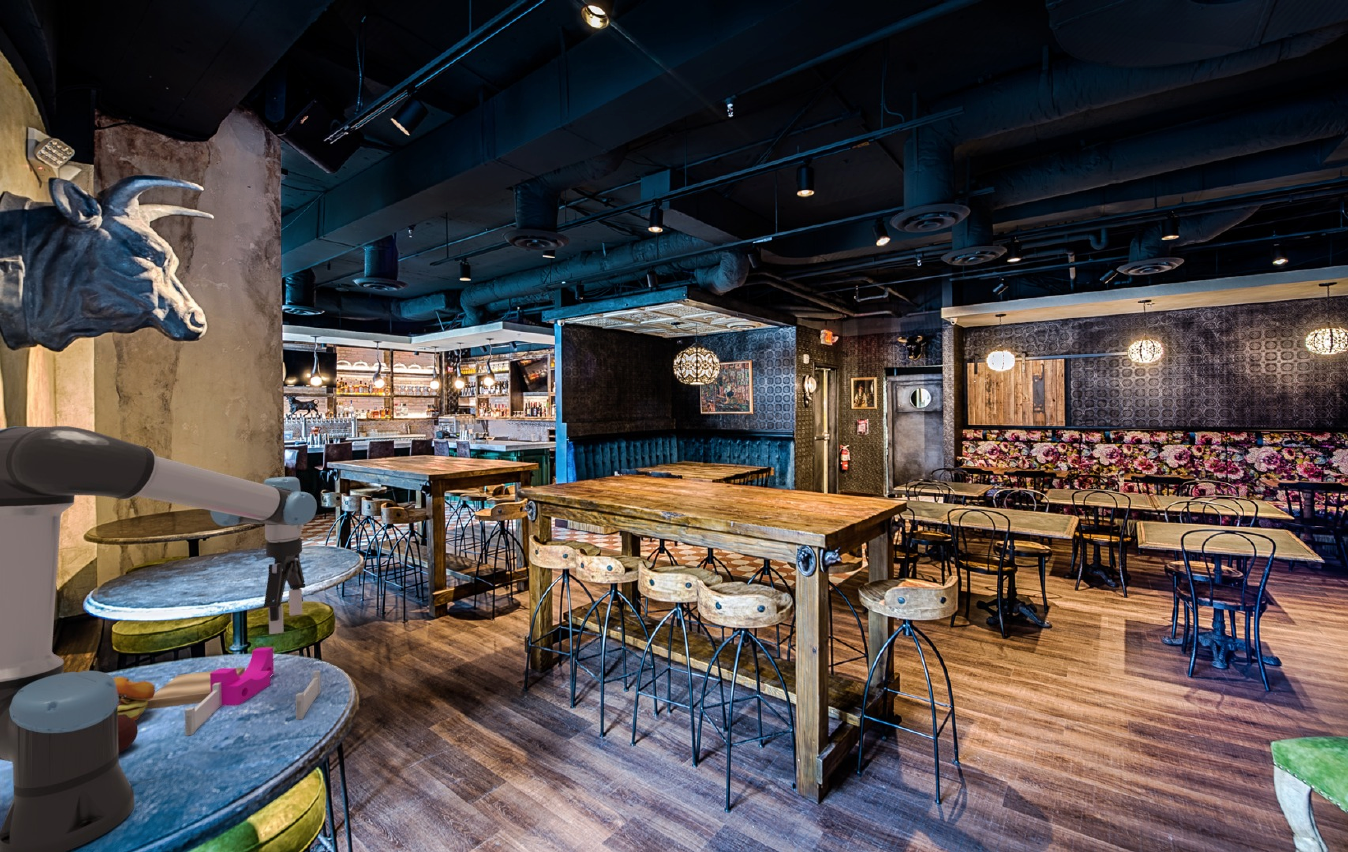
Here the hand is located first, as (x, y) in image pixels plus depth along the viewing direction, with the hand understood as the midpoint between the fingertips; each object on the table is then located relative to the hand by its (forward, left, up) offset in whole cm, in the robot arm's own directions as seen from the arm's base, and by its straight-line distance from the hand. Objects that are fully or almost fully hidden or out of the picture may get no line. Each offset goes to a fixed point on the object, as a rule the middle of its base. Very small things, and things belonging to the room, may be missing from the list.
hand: (286, 623), depth 144 cm
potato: (-28, +21, -14) cm, 37 cm away
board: (-2, +18, -14) cm, 23 cm away
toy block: (-5, +7, -14) cm, 16 cm away
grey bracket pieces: (-18, 0, -14) cm, 23 cm away
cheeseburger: (-16, +28, -14) cm, 35 cm away
